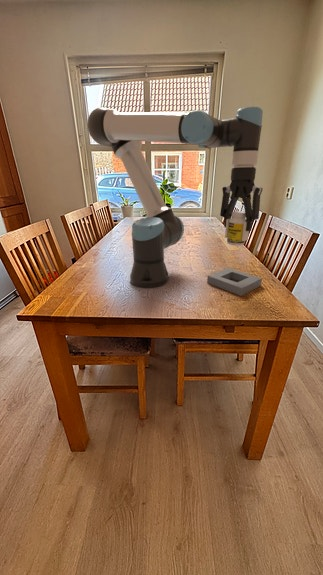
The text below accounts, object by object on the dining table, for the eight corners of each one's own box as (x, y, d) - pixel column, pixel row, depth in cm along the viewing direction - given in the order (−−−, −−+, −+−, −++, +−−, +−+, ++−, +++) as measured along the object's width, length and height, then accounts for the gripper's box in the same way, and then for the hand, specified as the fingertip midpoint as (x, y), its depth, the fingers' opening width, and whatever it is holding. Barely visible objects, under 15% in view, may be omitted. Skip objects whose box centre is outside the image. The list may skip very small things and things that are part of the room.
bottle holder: (240, 296, 85) (242, 288, 84) (207, 282, 96) (207, 275, 95) (260, 285, 93) (262, 278, 92) (227, 274, 103) (228, 267, 102)
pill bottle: (223, 244, 89) (226, 212, 85) (231, 240, 94) (234, 210, 89) (239, 247, 86) (243, 214, 81) (247, 243, 90) (251, 211, 85)
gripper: (279, 165, 75) (266, 241, 84) (225, 167, 88) (220, 232, 98) (266, 165, 70) (255, 245, 80) (212, 167, 83) (208, 236, 93)
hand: (236, 238), depth 89 cm, fingers closed on pill bottle, 6 cm apart
